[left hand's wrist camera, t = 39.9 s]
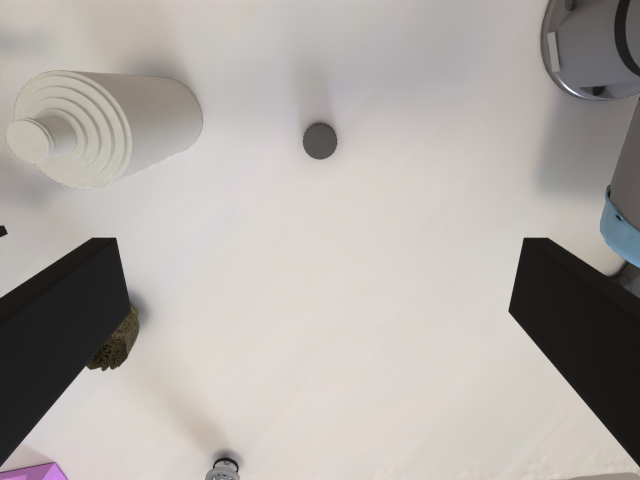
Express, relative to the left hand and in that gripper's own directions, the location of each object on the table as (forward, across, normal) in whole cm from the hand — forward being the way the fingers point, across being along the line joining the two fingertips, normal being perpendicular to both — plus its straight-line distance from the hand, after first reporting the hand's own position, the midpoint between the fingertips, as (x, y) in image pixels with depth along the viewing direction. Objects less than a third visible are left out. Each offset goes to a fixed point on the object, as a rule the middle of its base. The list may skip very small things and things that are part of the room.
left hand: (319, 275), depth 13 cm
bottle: (+36, +18, -3) cm, 40 cm away
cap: (+34, 0, 0) cm, 34 cm away
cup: (+36, +27, +24) cm, 51 cm away
